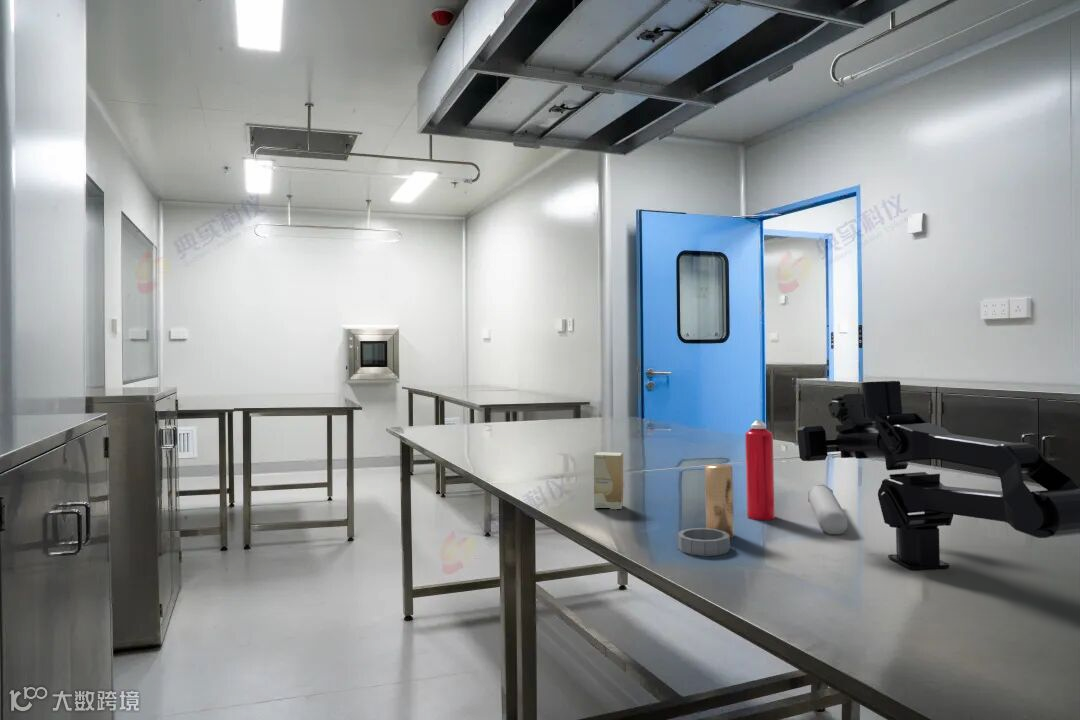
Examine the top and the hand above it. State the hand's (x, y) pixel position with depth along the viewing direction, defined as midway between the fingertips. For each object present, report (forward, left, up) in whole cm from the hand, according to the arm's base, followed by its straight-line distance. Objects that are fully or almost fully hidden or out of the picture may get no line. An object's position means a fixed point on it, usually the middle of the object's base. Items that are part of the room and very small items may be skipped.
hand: (820, 441), depth 136 cm
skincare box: (+24, +38, -17) cm, 48 cm away
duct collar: (-11, +27, -16) cm, 34 cm away
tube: (+4, -3, -17) cm, 18 cm away
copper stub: (-3, +22, -17) cm, 27 cm away
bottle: (+9, +9, -17) cm, 21 cm away
